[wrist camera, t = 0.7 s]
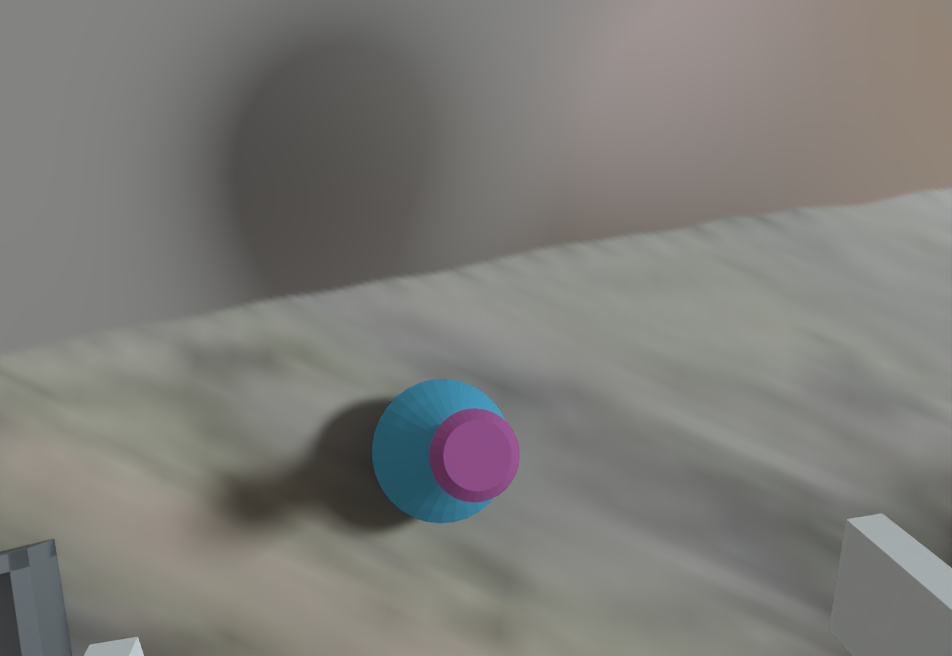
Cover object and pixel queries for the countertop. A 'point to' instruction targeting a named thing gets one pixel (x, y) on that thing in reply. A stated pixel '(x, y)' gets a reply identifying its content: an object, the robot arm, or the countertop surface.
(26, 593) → the tray
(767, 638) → the countertop surface
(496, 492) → the perfume bottle
